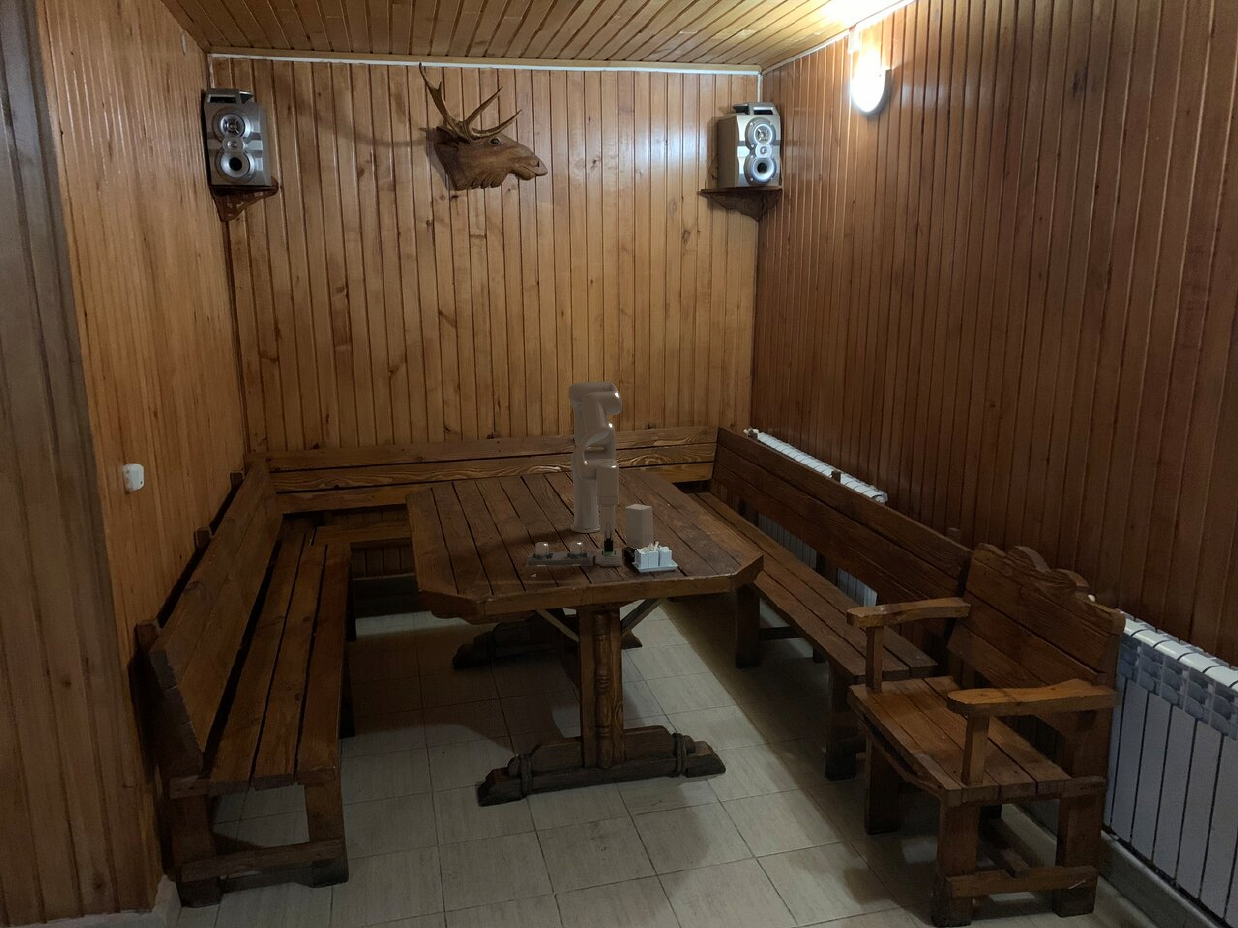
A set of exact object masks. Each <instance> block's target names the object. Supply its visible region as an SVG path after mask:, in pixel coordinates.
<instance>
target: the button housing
mask: <svg viewBox="0 0 1238 928" xmlns="http://www.w3.org/2000/svg"><path fill="white" fill-rule="evenodd" d="M622 549H623V548H621V547H619V548H618V547H617V548H616V547H615V548H613V550H614V551H615V555H603V550H604V548H595V564H596V565H599V567H622V566H623V552H622Z"/></svg>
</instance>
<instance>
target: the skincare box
mask: <svg viewBox="0 0 1238 928" xmlns="http://www.w3.org/2000/svg"><path fill="white" fill-rule="evenodd" d="M624 520H625V523H624V524H625V540H626V541H625V543H626V548H627V547H633V548H642V547H646V546H648V545H649V543H654V523H653V521H654V520H653V506H650V505H645V504H644V505H643V504H638V503H634V504H631V505H628V506H625V507H624Z"/></svg>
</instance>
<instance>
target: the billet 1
mask: <svg viewBox="0 0 1238 928" xmlns="http://www.w3.org/2000/svg"><path fill="white" fill-rule="evenodd" d="M534 546H535V553H536V560H543V559H549V552H550V549H549V548H550V547H549V542H545V541H539V542H536V543H535V545H534Z"/></svg>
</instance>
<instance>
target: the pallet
mask: <svg viewBox="0 0 1238 928" xmlns="http://www.w3.org/2000/svg"><path fill="white" fill-rule="evenodd" d="M583 556H584V559H571V556H570V551H552V552H550V551H549V559H543V560H536V552H530V554H528V555H527V558H526V562H525V565H524V567H525V568H534V567H536V568H537V567H538V568H540V567H542V568H543V567H546V568H548V567H550V568H551V567H592V566H594V565H593V564H594V563H593V562H594V553H591V551H583Z"/></svg>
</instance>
